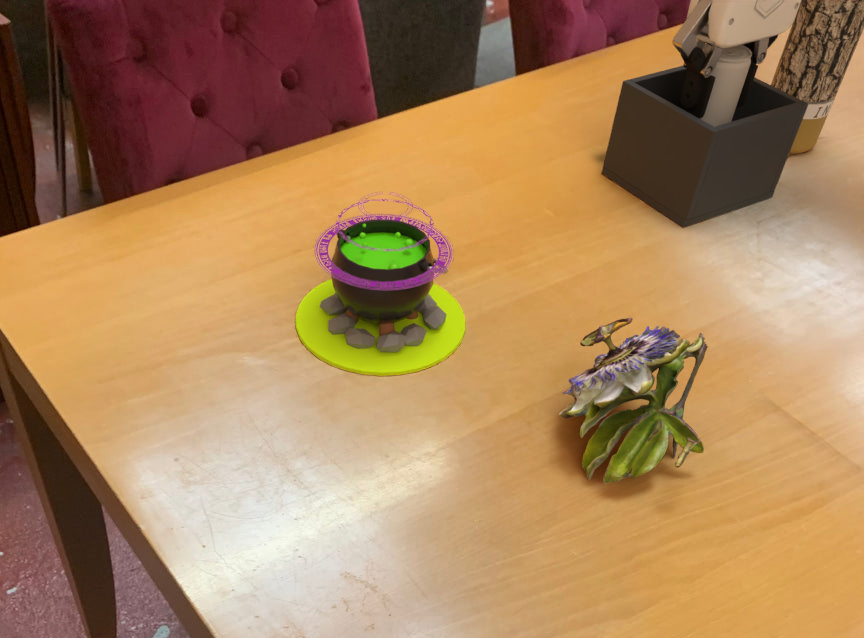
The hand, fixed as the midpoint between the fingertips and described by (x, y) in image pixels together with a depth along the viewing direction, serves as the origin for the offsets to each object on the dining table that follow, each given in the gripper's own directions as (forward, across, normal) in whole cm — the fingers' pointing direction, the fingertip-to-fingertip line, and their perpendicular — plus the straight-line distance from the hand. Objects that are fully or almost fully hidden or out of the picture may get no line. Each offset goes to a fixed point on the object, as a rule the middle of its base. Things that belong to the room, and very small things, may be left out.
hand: (710, 105), depth 89 cm
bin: (+8, 0, 0) cm, 8 cm away
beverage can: (+7, 0, 0) cm, 7 cm away
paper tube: (+9, +17, +2) cm, 19 cm away
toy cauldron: (+9, -41, -5) cm, 42 cm away
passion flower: (+9, -32, -27) cm, 43 cm away
